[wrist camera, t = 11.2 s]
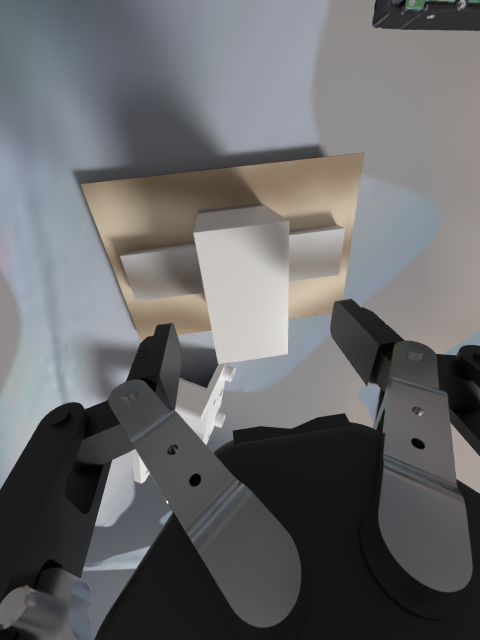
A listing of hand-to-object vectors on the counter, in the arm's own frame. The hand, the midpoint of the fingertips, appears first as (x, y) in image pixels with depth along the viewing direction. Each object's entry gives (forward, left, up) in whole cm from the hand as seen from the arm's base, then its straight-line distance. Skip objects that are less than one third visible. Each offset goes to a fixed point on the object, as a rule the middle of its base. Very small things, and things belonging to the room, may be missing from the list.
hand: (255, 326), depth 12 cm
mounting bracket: (+16, -7, -12) cm, 22 cm away
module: (0, 0, -11) cm, 11 cm away
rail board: (0, 0, -12) cm, 12 cm away
